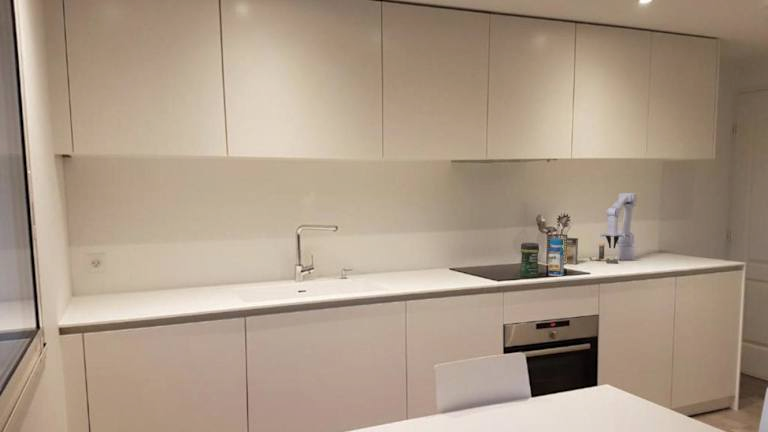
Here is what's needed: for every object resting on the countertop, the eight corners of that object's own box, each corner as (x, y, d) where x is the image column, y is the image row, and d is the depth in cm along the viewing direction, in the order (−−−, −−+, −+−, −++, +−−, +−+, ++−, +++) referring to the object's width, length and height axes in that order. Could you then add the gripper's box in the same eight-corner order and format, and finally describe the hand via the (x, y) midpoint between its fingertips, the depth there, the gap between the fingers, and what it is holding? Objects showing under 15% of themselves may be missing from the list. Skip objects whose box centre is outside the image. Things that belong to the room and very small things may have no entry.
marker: (604, 258, 344) (604, 243, 344) (604, 258, 341) (604, 244, 340) (598, 258, 345) (598, 243, 345) (599, 258, 342) (599, 244, 341)
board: (608, 259, 346) (608, 257, 346) (610, 261, 337) (610, 259, 337) (589, 258, 350) (589, 257, 350) (590, 260, 340) (590, 259, 340)
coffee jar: (525, 278, 281) (525, 243, 280) (517, 275, 289) (518, 242, 288) (541, 277, 284) (541, 243, 283) (533, 274, 291) (533, 241, 290)
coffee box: (560, 263, 330) (560, 238, 329) (562, 262, 335) (563, 237, 334) (575, 264, 325) (576, 239, 324) (577, 263, 330) (578, 238, 329)
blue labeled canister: (566, 275, 287) (567, 239, 285) (552, 276, 285) (553, 240, 284) (558, 273, 295) (559, 238, 294) (545, 273, 293) (545, 238, 292)
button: (614, 261, 332) (614, 257, 332) (615, 261, 329) (615, 258, 329) (608, 260, 333) (608, 257, 333) (609, 261, 330) (609, 257, 330)
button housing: (616, 262, 333) (616, 258, 333) (617, 263, 327) (617, 260, 327) (606, 261, 335) (606, 258, 335) (607, 263, 329) (607, 259, 329)
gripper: (601, 227, 328) (600, 248, 329) (626, 227, 324) (625, 249, 325) (599, 226, 335) (599, 247, 336) (624, 226, 330) (623, 247, 331)
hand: (612, 248), depth 331 cm, fingers closed
